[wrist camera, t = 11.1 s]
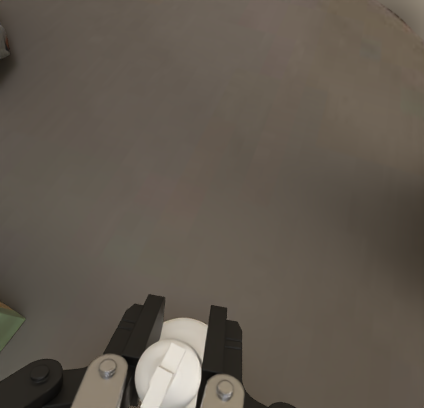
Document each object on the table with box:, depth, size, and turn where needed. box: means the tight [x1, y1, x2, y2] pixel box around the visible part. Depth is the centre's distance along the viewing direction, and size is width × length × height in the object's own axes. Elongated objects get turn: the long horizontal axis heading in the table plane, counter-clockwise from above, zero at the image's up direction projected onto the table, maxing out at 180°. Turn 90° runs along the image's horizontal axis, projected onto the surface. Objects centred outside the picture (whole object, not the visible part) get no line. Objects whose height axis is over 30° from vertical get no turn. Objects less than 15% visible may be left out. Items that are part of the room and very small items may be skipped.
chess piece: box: [135, 318, 208, 408], centre depth 12 cm, size 5×5×10 cm
